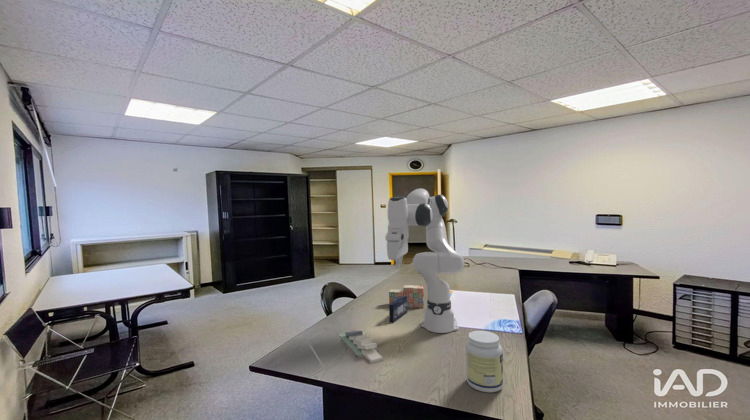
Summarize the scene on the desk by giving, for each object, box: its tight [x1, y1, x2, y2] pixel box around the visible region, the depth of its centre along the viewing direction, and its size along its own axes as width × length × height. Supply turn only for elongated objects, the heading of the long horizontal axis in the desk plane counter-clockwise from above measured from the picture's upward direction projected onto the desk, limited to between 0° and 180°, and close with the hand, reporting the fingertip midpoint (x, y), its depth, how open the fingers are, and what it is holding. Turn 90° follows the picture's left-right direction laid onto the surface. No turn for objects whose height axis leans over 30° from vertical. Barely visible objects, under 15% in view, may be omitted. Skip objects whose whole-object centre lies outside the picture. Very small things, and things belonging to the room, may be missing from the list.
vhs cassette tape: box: [388, 296, 408, 324], centre depth 178 cm, size 18×3×10 cm, turn 148°
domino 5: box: [362, 348, 384, 364], centre depth 132 cm, size 2×5×10 cm
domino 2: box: [349, 334, 368, 341], centre depth 146 cm, size 2×5×10 cm
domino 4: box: [357, 342, 378, 350], centre depth 137 cm, size 2×5×10 cm
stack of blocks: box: [388, 284, 425, 309], centre depth 199 cm, size 21×6×12 cm, turn 78°
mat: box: [338, 329, 379, 357], centre depth 147 cm, size 25×10×1 cm, turn 26°
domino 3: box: [353, 338, 373, 345], centre depth 141 cm, size 2×5×10 cm
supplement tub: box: [465, 330, 504, 393], centre depth 111 cm, size 12×12×17 cm
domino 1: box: [344, 330, 364, 337], centre depth 150 cm, size 2×5×10 cm
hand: (398, 266), depth 135 cm, fingers closed
